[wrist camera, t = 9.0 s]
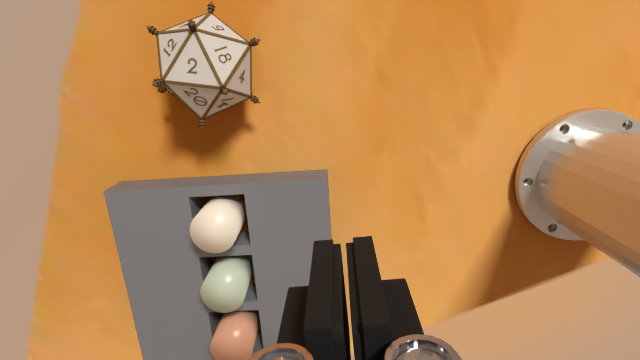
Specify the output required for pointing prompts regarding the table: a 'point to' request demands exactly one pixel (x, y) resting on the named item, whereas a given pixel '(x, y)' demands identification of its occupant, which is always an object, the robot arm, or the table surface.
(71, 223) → the table surface
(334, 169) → the table surface
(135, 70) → the table surface
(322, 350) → the robot arm
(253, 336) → the pink egg
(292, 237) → the panel
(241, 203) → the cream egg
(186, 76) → the game die
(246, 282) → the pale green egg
